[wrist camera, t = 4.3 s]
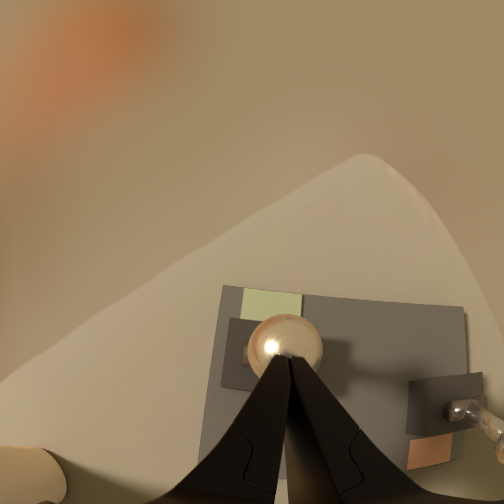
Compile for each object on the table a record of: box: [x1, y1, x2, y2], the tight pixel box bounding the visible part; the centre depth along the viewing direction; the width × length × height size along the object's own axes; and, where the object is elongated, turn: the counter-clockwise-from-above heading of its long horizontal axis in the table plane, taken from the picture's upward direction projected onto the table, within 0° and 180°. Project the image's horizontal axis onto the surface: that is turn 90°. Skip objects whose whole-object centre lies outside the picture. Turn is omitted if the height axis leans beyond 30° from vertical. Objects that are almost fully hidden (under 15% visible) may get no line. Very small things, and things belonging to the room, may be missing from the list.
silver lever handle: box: [443, 396, 504, 465], centre depth 10 cm, size 3×3×8 cm
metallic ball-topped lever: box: [241, 314, 323, 378], centre depth 12 cm, size 3×3×8 cm
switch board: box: [197, 285, 482, 479], centre depth 17 cm, size 13×20×4 cm, turn 83°
